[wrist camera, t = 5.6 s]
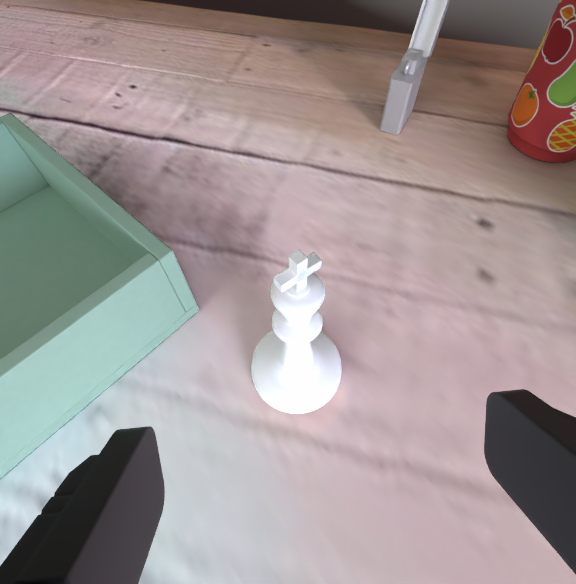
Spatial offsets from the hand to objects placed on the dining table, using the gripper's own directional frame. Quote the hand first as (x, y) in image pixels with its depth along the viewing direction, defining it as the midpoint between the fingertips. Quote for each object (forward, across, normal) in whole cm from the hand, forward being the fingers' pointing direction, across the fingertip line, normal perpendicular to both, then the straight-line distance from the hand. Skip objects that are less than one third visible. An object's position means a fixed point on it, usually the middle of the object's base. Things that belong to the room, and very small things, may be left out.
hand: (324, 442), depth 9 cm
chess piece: (+11, 0, +3) cm, 12 cm away
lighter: (+27, -12, -13) cm, 32 cm away
